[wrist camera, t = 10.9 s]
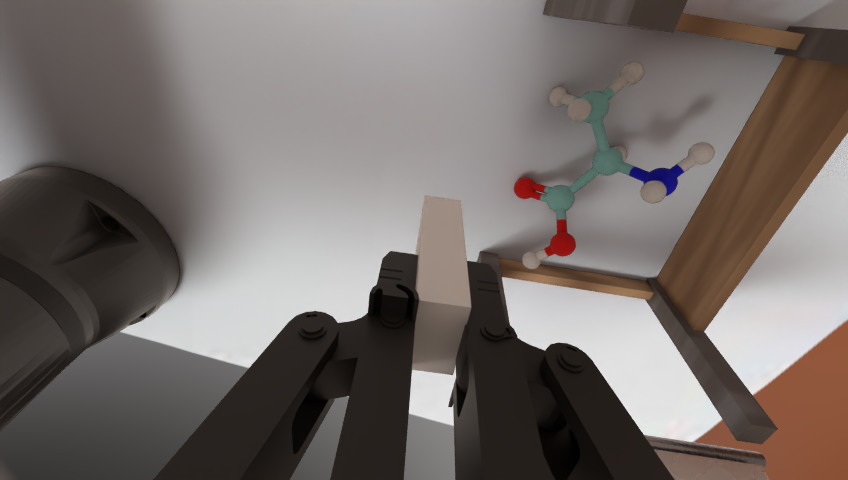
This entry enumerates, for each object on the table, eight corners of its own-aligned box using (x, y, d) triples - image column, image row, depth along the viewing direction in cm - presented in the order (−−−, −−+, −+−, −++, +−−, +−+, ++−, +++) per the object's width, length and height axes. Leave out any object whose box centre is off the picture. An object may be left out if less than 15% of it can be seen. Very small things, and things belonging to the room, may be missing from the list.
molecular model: (486, 70, 22) (621, 162, 16) (611, 35, 25) (766, 102, 19) (474, 214, 31) (560, 310, 25) (568, 176, 34) (666, 254, 27)
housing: (476, 266, 34) (487, 402, 22) (550, -15, 23) (648, -34, 11) (657, 294, 34) (761, 444, 22) (813, 30, 23) (1169, 56, 12)
